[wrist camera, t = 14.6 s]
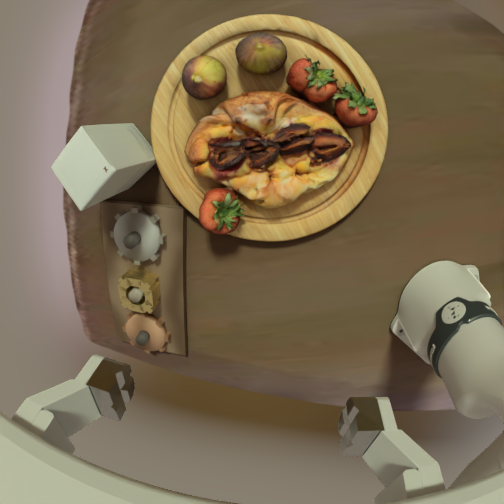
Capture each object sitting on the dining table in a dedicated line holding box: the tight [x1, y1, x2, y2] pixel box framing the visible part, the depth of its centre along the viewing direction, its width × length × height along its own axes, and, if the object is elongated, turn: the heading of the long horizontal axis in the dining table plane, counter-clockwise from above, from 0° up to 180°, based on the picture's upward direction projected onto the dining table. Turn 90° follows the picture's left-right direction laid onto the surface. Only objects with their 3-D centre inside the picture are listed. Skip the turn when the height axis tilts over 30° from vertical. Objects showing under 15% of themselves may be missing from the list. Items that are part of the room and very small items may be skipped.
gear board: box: [100, 200, 188, 356], centre depth 45 cm, size 14×27×5 cm, turn 175°
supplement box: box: [51, 123, 156, 211], centre depth 34 cm, size 7×7×13 cm
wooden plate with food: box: [151, 14, 388, 242], centre depth 33 cm, size 32×32×8 cm
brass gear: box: [118, 269, 161, 314], centre depth 45 cm, size 6×6×3 cm
